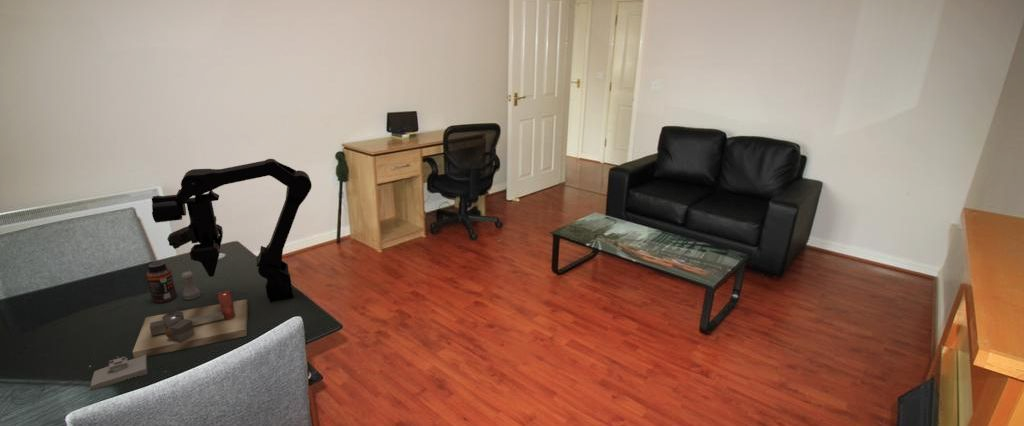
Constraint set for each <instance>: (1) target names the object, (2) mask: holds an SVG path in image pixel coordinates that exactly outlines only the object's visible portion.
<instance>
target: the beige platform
mask: <svg viewBox="0 0 1024 426" xmlns="http://www.w3.org/2000/svg"><path fill="white" fill-rule="evenodd" d="M146 375H148V357H147V355H143V356H141V357H138V358H135V359H134V358H132V359H129V360H128V357H126V356H122V357H119V356H118V355H117V356H116V359H111V360H109V361H108V365H107V366H105V367H103V368H100V369H97V370H95V371H93V375H92V378H91V381H90V383H91V384H90V388H91V391H93V390H97V389H101V388H104V387H107V386H111V385H114V384H119V383H122V382H125V381H127V380H126V379H128V380H131V379H130V378H132V379H134V378H133V377H135V378H138V377H137V376H139V377H142V376H146ZM124 380H125V381H124ZM121 381H122V382H121Z"/></svg>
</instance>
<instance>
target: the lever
mask: <svg viewBox="0 0 1024 426" xmlns="http://www.w3.org/2000/svg"><path fill="white" fill-rule="evenodd" d="M217 296H218V297H217V298H218V301H219V303H218V304H220V308H221V312H218V313H214V314H209V315H205V316H200V317H196V318H191V319H187V320H192V324H193V326H195V325H199V324H204V323H208V322H212V321H217V320H221V319H230V318H232V317H234V316H235V311H234V306H233V302H234V301H233V296H232V291H231V289H230V290H228V289H225V290H222V291H219V292H217ZM181 311H182V310H178V311H177V310H176V311H175V310H174V311H171V312H168V314H167V313H165V314H166V315H164V316H163V318H162V319H163V320H161V321H156V322H151V323H150V331H151V335H157V334H161V333H165V332H166V330H167V329H168V328H169V327H171V326H173V325H175V324H176V323H178V322H180V321H181V320H183V319H184V315H183V312H181Z"/></svg>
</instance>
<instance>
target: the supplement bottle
mask: <svg viewBox="0 0 1024 426" xmlns="http://www.w3.org/2000/svg"><path fill="white" fill-rule="evenodd" d="M147 267H148V271H147V273H146V280H147V284H148V288H149V292H150V296H151V299H152V301H153V302H154V303H161V304H162V303H166V302H170V301H172V300H174V299H175V298H176V297H177V291H176V286H175V282H174V276H173V274H172V273H173V272H172V270H171V269H170V268H169V267H168V266H167V265H166V262H165V261H164V260H163V261H162V260H159V261H154V262H153V261H152V262H150V263H149V264H148V266H147Z"/></svg>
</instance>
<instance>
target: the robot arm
mask: <svg viewBox="0 0 1024 426" xmlns="http://www.w3.org/2000/svg"><path fill="white" fill-rule="evenodd" d="M269 176H270V177H272V178H274V179H276V180H277V181H278V182H280V183H281V184H282V185H284V186H286V194H285V201H284V203H283V206H282V208H281V211H280V213H279V217H278V218H277V219H278V220H277V222H276V225H275V227H274V230H273V233H272V235H271V238H270V239H269V240H270V241H269V243H268V244H267V245H266V247H265V246H263V245H261V246H260V249H259V252H258V255H257V256H256V267H257V272H258V274H259V275H260V276H261V277H262V278H264V279H266V282H265V290H266V296H267V297H266V298H267V299H269V302H270V303H275V302H276V303H277V302H281V301H286V300H292V299H294V298H295V297H294V291H293V290H294V288H293V286H292V279H291V273H290V272H289V271H290V270H289V264H288V263H286V262H284V261H283V253H284V248H285V245H286V241H287V239H288V237H289V234H290V232H291V229H292V226H293V224H294V221H295V219H296V217H297V212H298V210H299V209H300V206H301V204H303V202H304V201H305V200H306V198H307V197H308V195H309V193H310V192H311V189H312V181H311V178H310V175H309V174H308V173H306V171H303V170H296V169H294V168H292V167H290V166H288V165H286V164H283V163H280V162H279V161H278V160H276V159H274V158H267V159H265V160H261V161H256V162H251V163H246V164H245V163H244V164H239V165H235V166H230V167H229V166H228V167H225V168H219V169H218V168H217V169H216V168H215V169H214V168H195V169H194V168H193V169H191V170H187V172H186V173H185V174H184V175H183V177H182V179H181V182H180V187H181V188H180V189H178V191H177V193H176V194H171V195H153V196H152V198H151V203H152V204H151V209H152V210H151V215H152V218H153V221H154V222H155V223H156V224H157V223H164V222H173V221H181V220H183V216H184V217H185V216H187V214H188V216H189V217H188V218H189V224H188V225H187V226H184V227H182V228H180V229H177V230H176V231H173V232H171V233H170V234H168V236H167V238H166V240H167V241H168V246H170V247H172V248H173V249H174V250H176V249H178V248H181V247H182V246H183V245H186V244H189V243H190V242H191V244H194V245H193V246H191V248H190V250H189V256H190V261H191V260H192V261H193V262H199V263H201V265H202V267H203V269H204V270H205V271H206V273H207V275H208V277H210V278H211V277H215V274H216V269H217V265H218V261H219V258H220V252H221V251H220V250H221V245H222V241H223V236H224V235H223V234H224V231H223V227H222V226H221V225H220V224H217V216H215V211H214V206H213V202H215V201H218V200H219V199H220V195H219V194H218V193H216V192H214V190H216V189H218V188H219V187H222V186H224V185H225V186H226V185H229V184H233V183H239V182H240V183H241V182H244V181H248V180H249V181H250V180H254V179H257V178H258V179H259V178H263V177H269ZM187 212H188V213H187Z"/></svg>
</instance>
